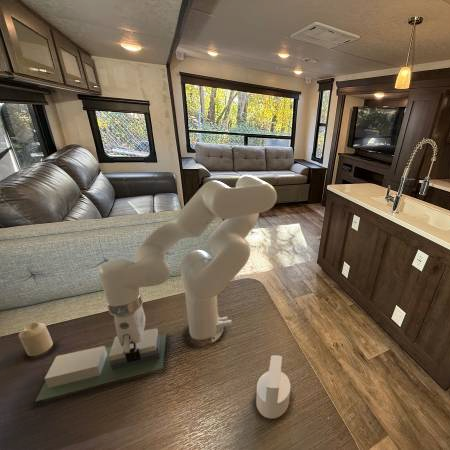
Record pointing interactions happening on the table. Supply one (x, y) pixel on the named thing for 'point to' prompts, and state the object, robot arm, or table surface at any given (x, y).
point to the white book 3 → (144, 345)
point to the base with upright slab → (273, 390)
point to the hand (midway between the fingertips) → (136, 348)
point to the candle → (35, 339)
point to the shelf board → (105, 375)
